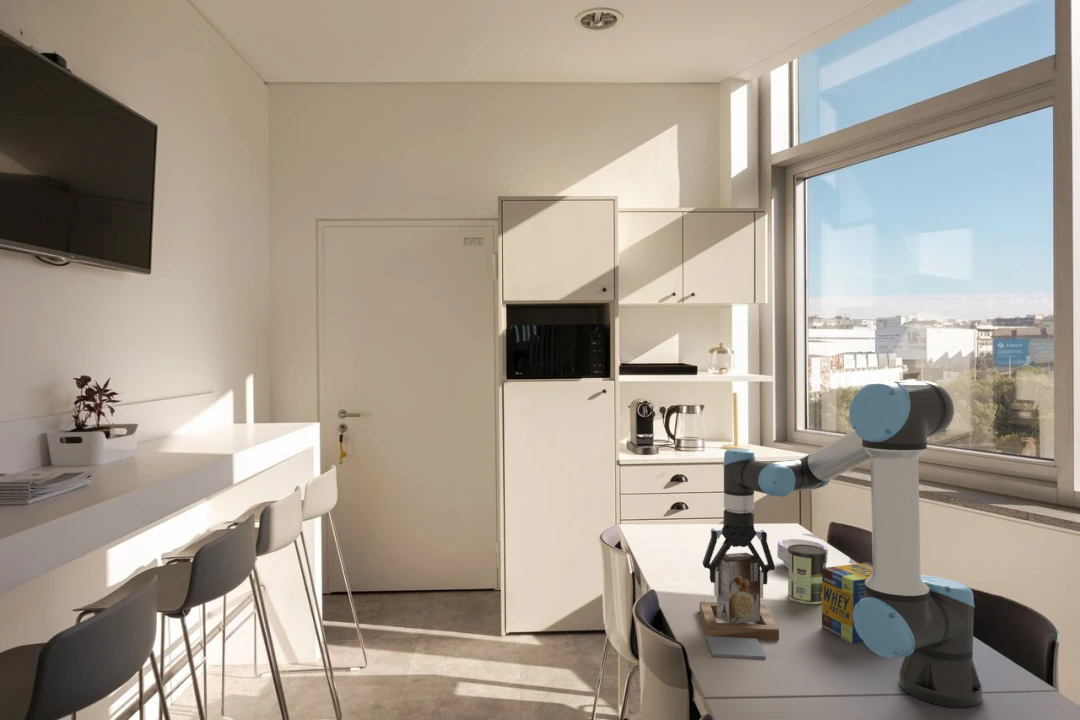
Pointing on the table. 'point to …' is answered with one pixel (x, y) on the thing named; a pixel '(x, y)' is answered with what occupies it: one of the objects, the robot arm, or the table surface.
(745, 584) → the coffee box
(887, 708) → the table surface
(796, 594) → the coffee can
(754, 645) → the rubber mat
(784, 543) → the paper bowls
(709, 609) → the pocket block
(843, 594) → the protein box
